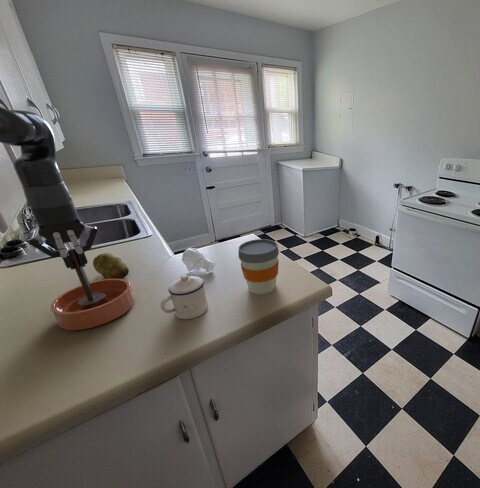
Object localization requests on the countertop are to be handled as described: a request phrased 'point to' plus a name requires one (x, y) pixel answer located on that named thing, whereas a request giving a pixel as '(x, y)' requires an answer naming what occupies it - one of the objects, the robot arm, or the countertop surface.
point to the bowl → (75, 319)
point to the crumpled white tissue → (196, 260)
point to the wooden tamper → (86, 286)
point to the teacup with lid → (187, 297)
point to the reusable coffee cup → (259, 264)
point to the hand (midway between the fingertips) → (78, 266)
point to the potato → (110, 266)
